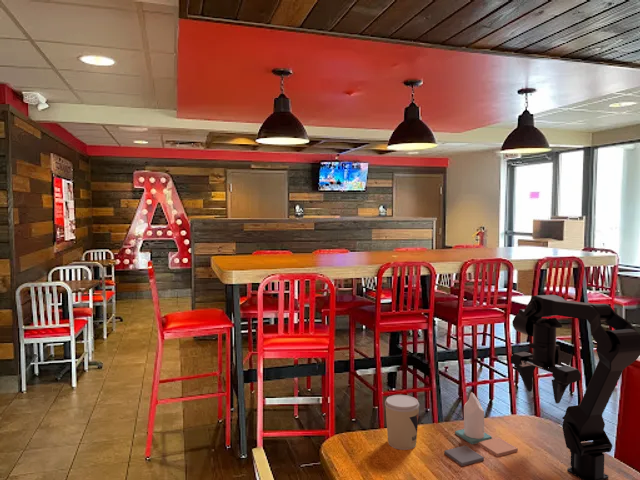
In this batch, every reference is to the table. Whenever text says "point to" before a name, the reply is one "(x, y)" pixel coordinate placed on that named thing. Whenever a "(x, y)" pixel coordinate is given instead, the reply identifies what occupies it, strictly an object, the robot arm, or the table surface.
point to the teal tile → (472, 440)
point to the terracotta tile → (498, 446)
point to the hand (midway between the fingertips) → (543, 397)
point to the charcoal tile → (464, 455)
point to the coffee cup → (402, 421)
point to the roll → (473, 418)
